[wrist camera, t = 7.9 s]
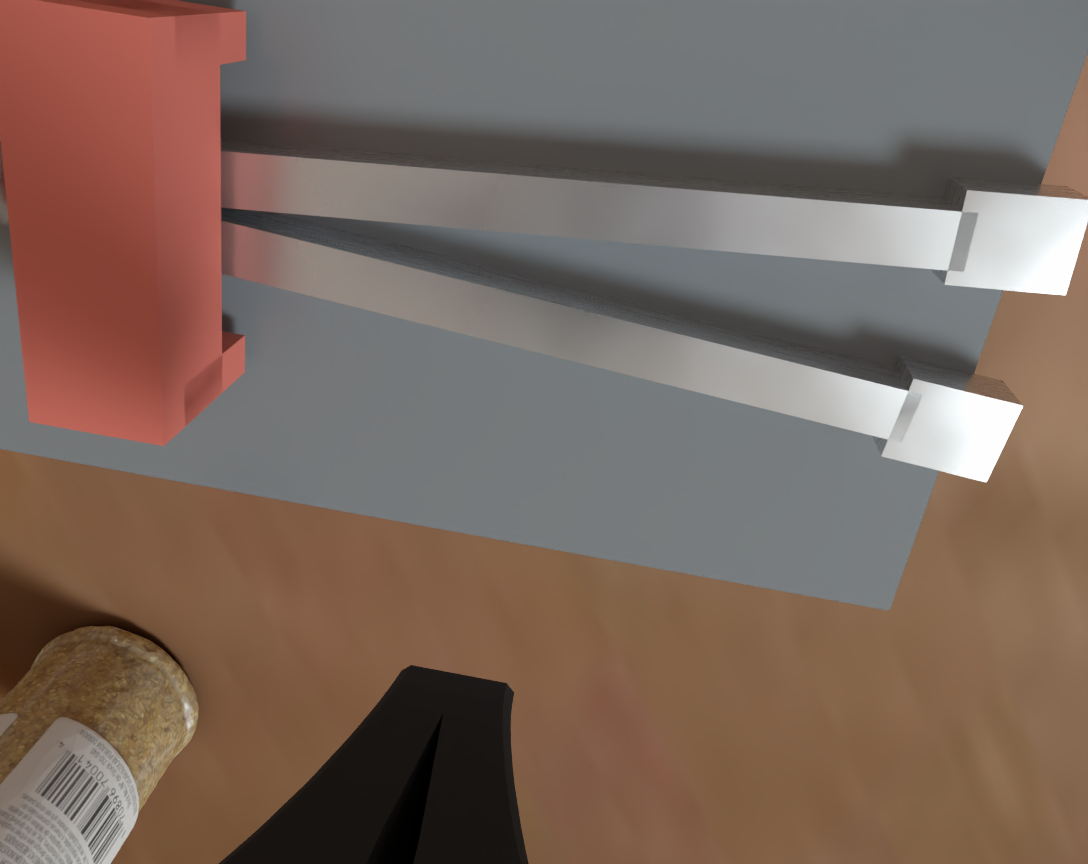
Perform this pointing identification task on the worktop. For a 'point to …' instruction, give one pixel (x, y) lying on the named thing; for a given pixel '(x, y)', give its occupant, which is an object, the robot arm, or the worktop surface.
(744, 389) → the tongs
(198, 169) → the red block
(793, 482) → the slate board
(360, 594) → the worktop surface
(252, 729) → the worktop surface
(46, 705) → the sprinkles bottle
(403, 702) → the robot arm
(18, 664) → the worktop surface
